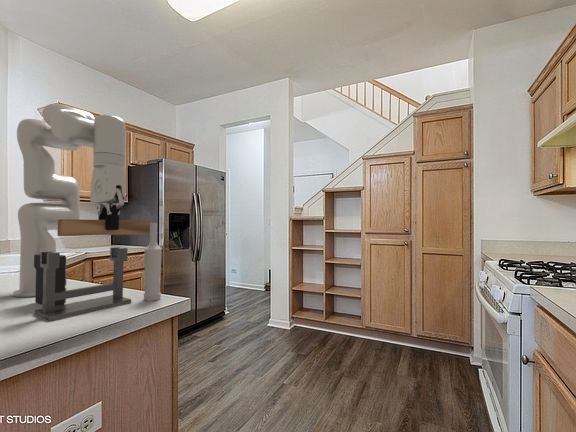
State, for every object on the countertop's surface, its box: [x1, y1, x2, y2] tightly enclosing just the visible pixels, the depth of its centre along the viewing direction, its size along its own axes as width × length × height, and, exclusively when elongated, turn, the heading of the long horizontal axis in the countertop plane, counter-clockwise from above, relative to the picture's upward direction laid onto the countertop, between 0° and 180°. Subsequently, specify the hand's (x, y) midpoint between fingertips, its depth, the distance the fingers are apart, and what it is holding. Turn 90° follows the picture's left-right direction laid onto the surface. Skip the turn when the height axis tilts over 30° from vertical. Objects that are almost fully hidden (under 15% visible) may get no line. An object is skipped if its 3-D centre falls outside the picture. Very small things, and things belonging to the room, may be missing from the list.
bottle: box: [143, 222, 163, 302], centre depth 98 cm, size 5×5×25 cm
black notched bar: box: [34, 254, 68, 306], centre depth 91 cm, size 11×4×15 cm, turn 63°
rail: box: [57, 219, 151, 237], centre depth 81 cm, size 3×22×4 cm, turn 147°
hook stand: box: [33, 246, 132, 322], centre depth 87 cm, size 10×21×17 cm, turn 147°
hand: (108, 229), depth 81 cm, fingers closed on rail, 3 cm apart
